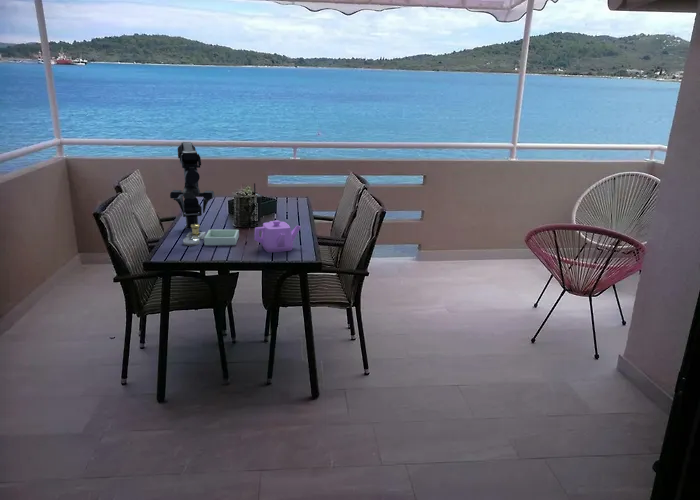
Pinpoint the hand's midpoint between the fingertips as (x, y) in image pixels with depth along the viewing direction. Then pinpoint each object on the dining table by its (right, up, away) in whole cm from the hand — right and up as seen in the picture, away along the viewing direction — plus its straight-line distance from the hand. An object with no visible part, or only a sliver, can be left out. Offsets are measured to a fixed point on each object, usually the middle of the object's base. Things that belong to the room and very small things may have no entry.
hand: (193, 212), depth 231 cm
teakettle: (+40, -16, -7) cm, 44 cm away
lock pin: (0, -11, +4) cm, 12 cm away
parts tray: (+13, -13, -1) cm, 19 cm away
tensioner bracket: (0, -13, -1) cm, 13 cm away
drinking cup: (+22, -2, +37) cm, 43 cm away
